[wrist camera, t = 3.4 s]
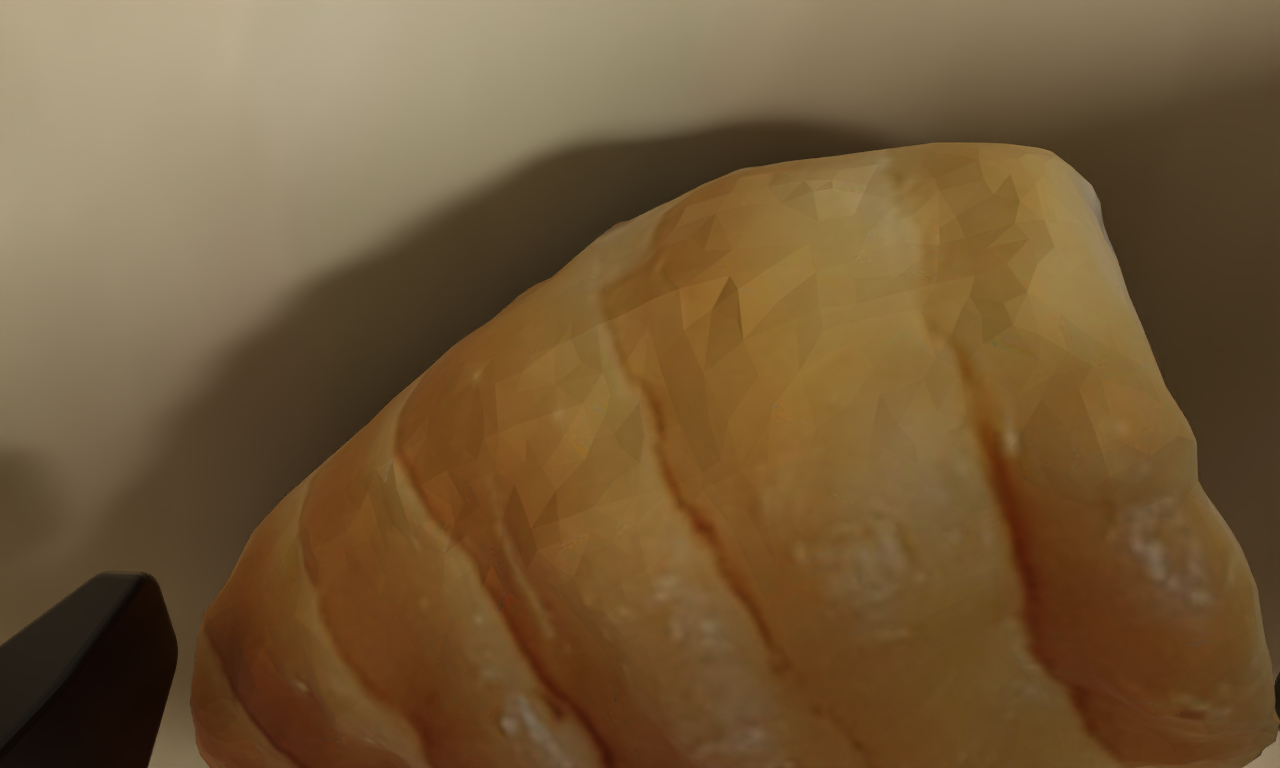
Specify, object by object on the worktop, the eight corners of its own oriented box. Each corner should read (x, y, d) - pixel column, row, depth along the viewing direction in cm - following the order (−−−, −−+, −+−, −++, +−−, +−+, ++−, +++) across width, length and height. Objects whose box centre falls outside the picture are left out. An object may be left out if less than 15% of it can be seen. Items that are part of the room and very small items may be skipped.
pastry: (450, 845, 14) (408, 1194, 11) (54, 466, 11) (-168, 809, 8) (1205, 557, 12) (1424, 891, 9) (995, -26, 9) (1225, 172, 6)
